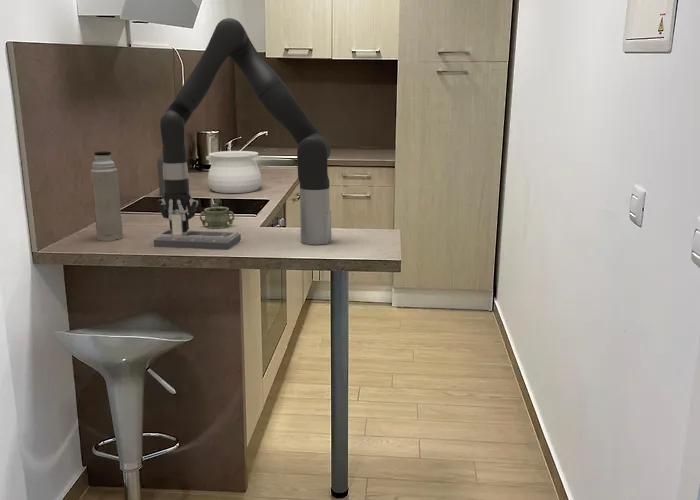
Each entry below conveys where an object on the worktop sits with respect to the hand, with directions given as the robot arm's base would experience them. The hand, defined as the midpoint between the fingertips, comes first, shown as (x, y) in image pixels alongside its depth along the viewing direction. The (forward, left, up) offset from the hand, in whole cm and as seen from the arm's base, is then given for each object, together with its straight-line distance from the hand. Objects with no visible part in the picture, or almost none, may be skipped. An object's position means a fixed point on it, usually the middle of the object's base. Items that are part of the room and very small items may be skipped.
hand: (179, 231), depth 216 cm
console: (-6, 0, -4) cm, 7 cm away
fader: (0, 0, -1) cm, 1 cm away
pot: (+17, -101, -4) cm, 102 cm away
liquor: (+38, -79, -4) cm, 88 cm away
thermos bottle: (+25, -2, -4) cm, 25 cm away
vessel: (-3, -25, -4) cm, 25 cm away
